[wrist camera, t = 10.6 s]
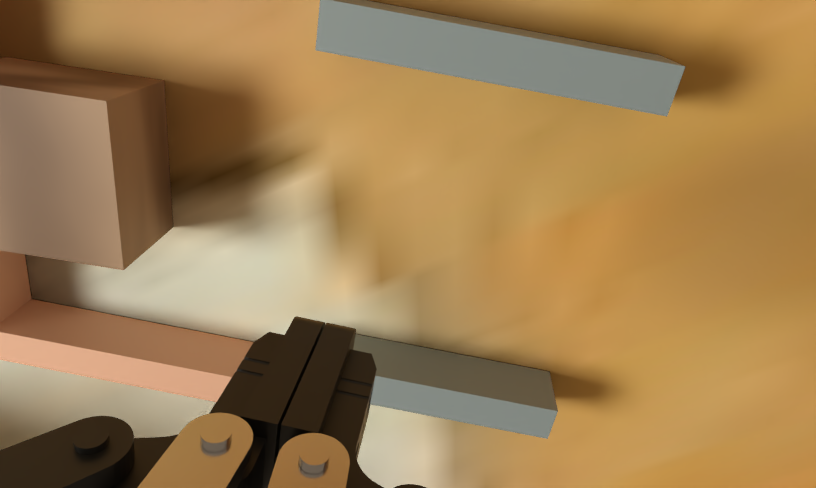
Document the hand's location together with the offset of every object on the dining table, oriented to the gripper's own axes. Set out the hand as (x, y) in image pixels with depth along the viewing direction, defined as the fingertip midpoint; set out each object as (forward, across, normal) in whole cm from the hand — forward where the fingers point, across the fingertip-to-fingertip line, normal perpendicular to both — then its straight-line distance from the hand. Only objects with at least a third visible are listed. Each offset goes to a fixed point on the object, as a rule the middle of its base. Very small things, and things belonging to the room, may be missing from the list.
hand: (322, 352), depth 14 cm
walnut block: (+9, +12, 0) cm, 15 cm away
